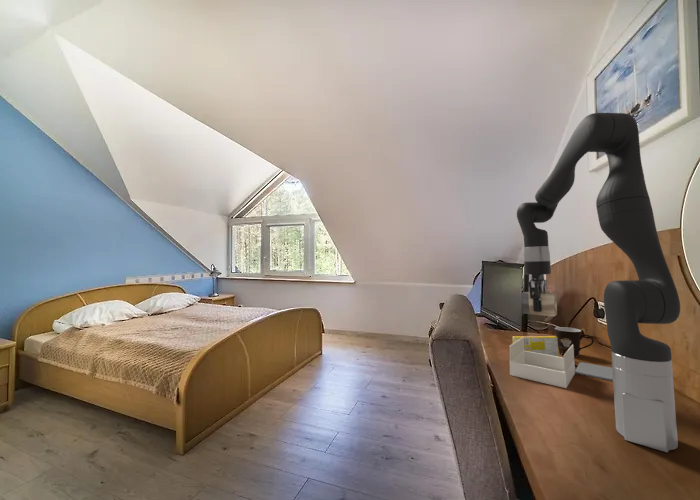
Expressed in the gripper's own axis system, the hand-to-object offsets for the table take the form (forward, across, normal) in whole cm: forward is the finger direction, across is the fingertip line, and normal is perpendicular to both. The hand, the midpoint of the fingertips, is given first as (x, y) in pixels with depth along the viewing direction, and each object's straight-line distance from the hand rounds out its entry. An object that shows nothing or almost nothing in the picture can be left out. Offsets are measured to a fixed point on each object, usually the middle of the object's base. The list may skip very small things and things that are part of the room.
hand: (539, 310), depth 98 cm
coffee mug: (+21, +30, -4) cm, 37 cm away
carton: (+21, 0, 0) cm, 21 cm away
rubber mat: (+21, +14, -14) cm, 29 cm away
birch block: (+1, 0, 0) cm, 1 cm away
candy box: (+21, +18, +6) cm, 29 cm away
